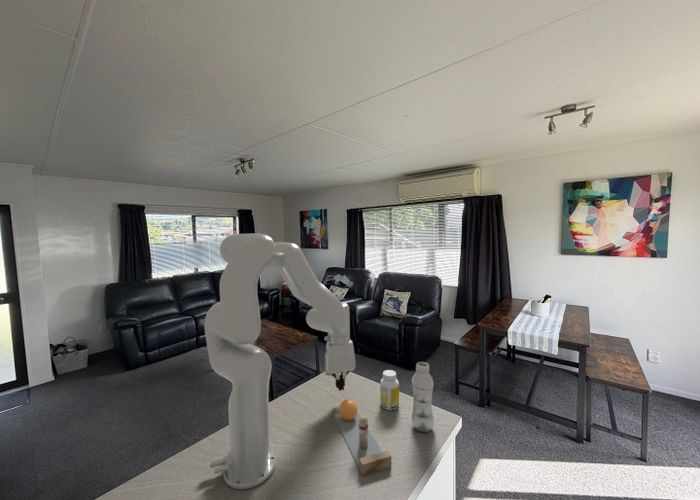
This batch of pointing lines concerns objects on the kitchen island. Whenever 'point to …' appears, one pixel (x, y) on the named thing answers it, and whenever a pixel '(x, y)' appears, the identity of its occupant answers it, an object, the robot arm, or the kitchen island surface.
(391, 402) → the pill bottle
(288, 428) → the kitchen island surface
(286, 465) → the kitchen island surface
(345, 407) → the ball
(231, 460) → the robot arm
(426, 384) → the plastic bottle
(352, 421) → the plate
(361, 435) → the pin
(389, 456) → the back wall
